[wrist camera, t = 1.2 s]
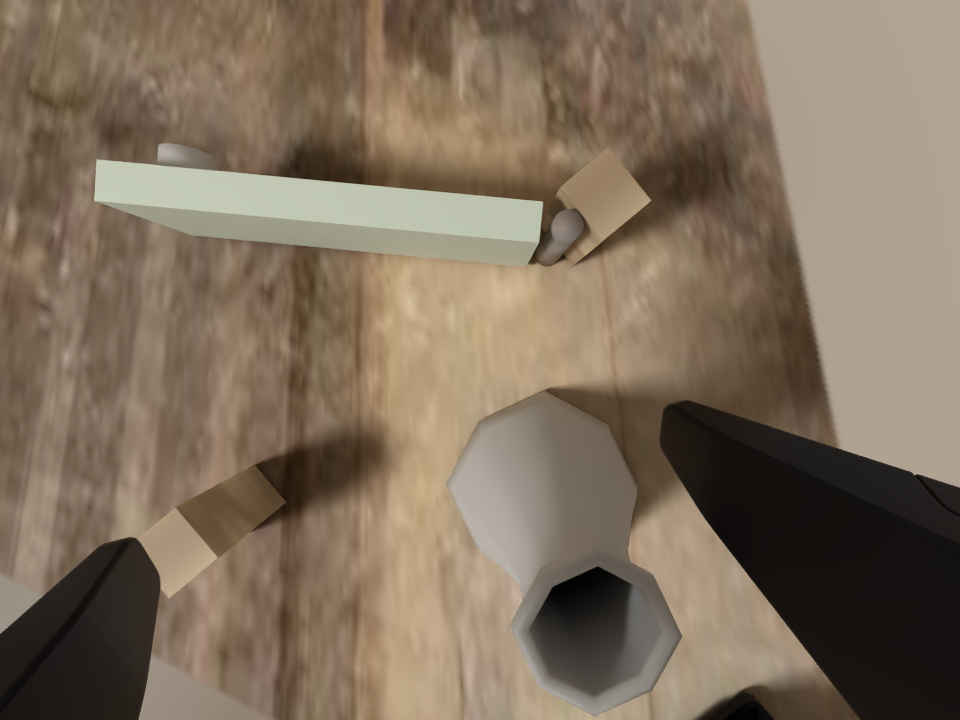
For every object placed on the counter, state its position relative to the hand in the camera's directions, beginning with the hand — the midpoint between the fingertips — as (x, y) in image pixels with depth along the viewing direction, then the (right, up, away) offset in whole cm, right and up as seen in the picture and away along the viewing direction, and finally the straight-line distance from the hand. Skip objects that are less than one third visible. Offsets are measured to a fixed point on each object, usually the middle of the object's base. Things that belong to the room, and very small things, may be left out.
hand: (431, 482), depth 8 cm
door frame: (-2, +2, +11) cm, 11 cm away
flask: (+3, -3, +11) cm, 12 cm away
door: (-4, +8, +11) cm, 13 cm away
